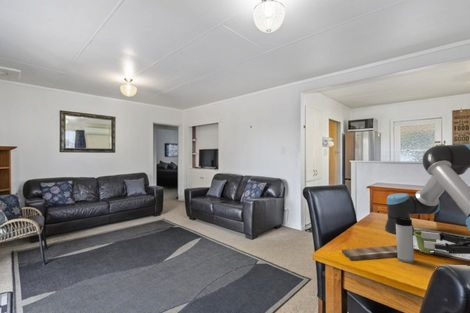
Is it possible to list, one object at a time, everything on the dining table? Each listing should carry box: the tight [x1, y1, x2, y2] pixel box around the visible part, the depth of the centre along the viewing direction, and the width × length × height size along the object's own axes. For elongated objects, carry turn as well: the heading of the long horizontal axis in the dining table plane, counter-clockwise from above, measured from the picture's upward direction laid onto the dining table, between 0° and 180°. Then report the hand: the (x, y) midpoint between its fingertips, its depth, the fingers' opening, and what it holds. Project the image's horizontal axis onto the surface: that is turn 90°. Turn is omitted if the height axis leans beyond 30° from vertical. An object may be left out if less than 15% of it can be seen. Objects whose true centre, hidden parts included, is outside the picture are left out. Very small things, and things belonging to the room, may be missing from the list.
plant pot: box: [413, 230, 437, 254], centre depth 116 cm, size 9×9×9 cm
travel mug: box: [395, 217, 415, 264], centre depth 108 cm, size 6×7×20 cm
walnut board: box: [341, 244, 398, 261], centre depth 115 cm, size 30×8×2 cm, turn 94°
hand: (422, 239), depth 104 cm, fingers open, 13 cm apart
